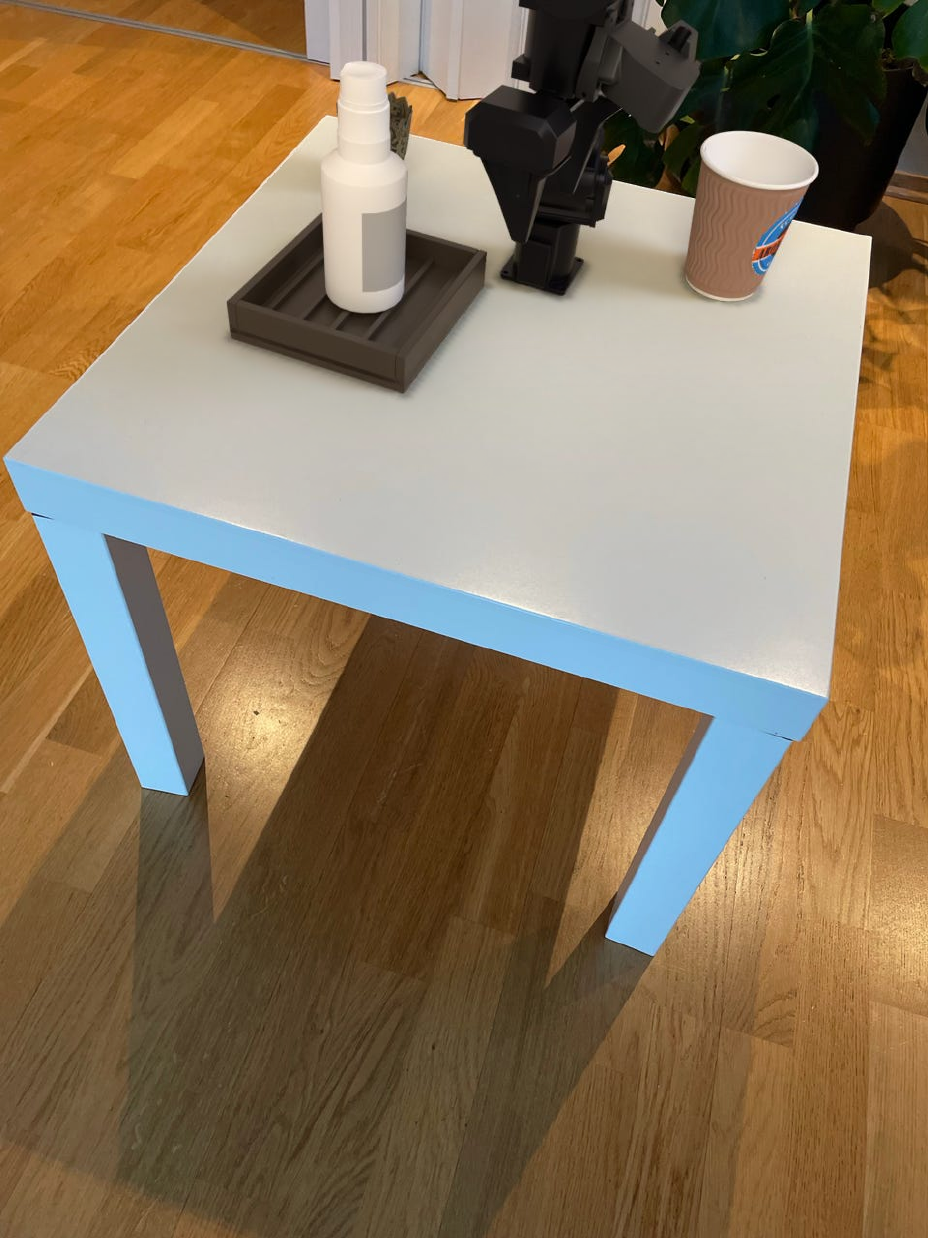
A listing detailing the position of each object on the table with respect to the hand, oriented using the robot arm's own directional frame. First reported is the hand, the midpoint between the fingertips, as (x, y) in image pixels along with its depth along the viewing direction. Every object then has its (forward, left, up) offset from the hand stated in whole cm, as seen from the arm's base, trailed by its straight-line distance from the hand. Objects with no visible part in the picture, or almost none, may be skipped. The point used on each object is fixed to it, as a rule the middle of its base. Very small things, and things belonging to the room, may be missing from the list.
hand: (543, 216), depth 70 cm
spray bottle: (-1, -15, -12) cm, 19 cm away
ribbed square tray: (-1, -15, -13) cm, 20 cm away
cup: (-22, -24, -14) cm, 36 cm away
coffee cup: (-22, +13, -14) cm, 29 cm away
